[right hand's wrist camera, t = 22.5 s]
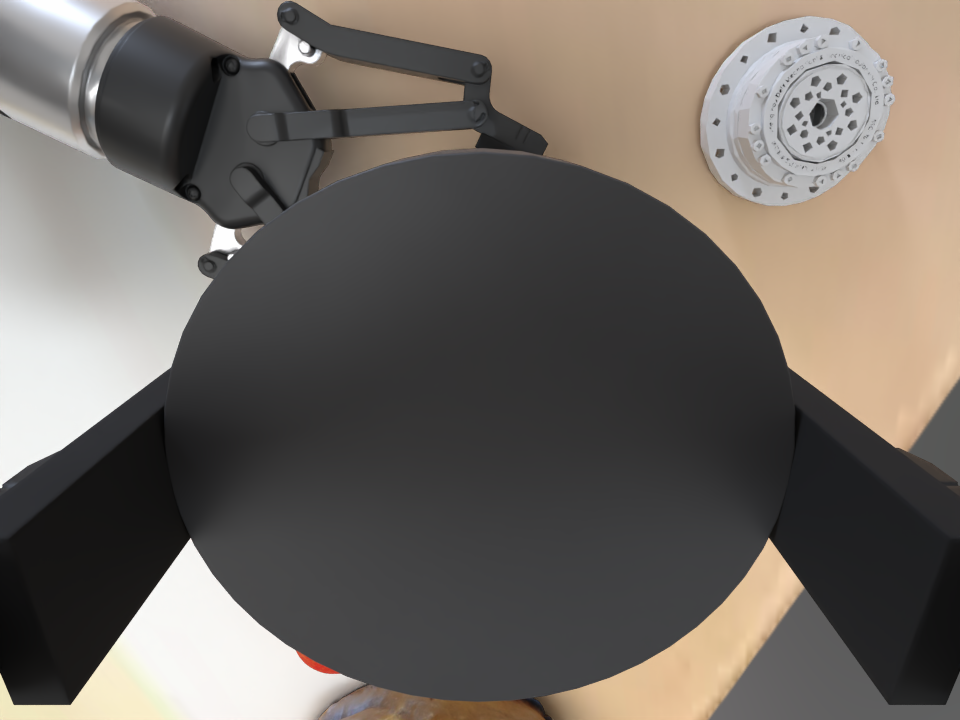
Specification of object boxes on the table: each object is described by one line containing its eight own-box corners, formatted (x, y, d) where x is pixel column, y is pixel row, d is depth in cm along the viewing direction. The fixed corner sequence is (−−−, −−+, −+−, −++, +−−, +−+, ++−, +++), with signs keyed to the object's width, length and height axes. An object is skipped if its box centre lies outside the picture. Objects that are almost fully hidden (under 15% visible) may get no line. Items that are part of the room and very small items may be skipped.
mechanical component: (673, 75, 33) (726, 231, 36) (702, 66, 29) (758, 243, 32) (844, -15, 32) (883, 156, 35) (900, -38, 27) (938, 159, 31)
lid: (759, 567, 14) (810, 647, 11) (327, 652, 15) (300, 741, 12) (709, 73, 10) (774, 55, 8) (125, 236, 11) (37, 260, 9)
